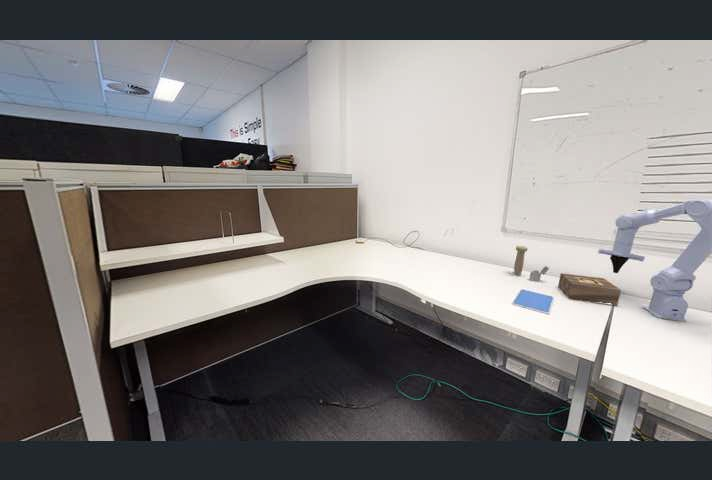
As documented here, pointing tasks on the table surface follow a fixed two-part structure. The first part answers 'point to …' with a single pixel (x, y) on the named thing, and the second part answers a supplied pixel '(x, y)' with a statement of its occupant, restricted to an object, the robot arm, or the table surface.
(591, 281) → the peg
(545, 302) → the tablet computer
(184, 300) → the table surface
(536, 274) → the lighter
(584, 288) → the socket block
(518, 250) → the handle
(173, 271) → the table surface
